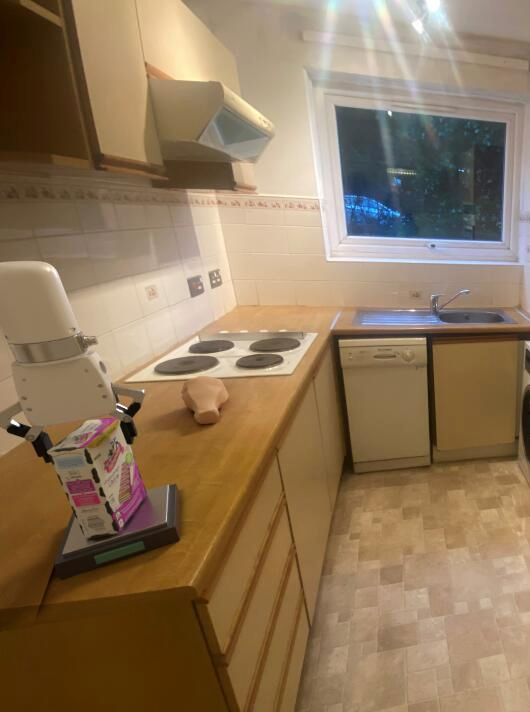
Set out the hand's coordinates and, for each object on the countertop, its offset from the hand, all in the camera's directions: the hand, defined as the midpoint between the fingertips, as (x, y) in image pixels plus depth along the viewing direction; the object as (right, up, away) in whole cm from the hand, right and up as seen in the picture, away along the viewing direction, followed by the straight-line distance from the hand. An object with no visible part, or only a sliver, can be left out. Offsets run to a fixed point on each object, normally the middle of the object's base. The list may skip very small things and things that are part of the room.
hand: (92, 449), depth 70 cm
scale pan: (0, -13, +5) cm, 14 cm away
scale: (0, -16, +7) cm, 17 cm away
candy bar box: (0, -12, +5) cm, 13 cm away
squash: (-17, +3, +51) cm, 54 cm away
